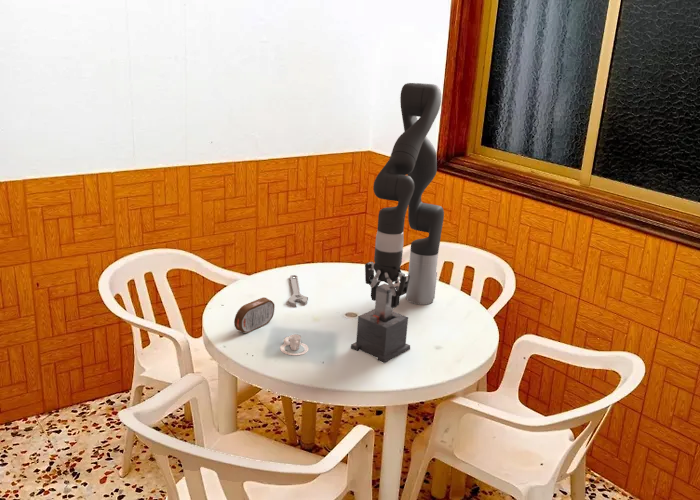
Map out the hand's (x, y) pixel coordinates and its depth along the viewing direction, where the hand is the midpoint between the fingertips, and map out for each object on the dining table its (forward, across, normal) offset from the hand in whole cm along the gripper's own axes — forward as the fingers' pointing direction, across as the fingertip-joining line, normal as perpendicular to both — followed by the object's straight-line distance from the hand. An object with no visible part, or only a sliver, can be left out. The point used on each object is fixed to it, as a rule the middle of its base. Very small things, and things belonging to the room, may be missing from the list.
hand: (384, 303), depth 186 cm
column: (+14, 0, 0) cm, 14 cm away
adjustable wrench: (+15, +45, -12) cm, 49 cm away
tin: (+14, +34, +17) cm, 41 cm away
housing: (+14, 0, 0) cm, 14 cm away
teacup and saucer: (+15, +17, +15) cm, 27 cm away
